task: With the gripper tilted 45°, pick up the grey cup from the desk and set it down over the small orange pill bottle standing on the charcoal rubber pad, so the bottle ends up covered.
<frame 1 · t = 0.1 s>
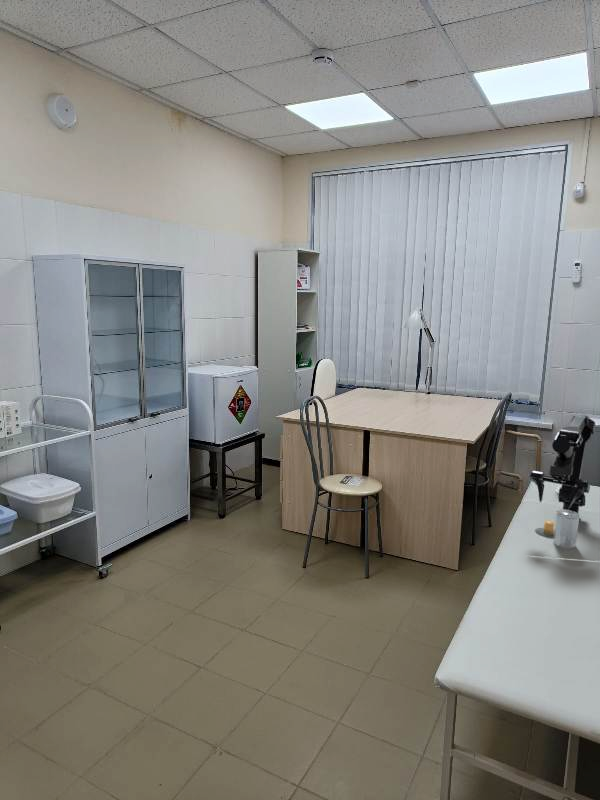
hand: (554, 504, 192), 15 cm above the table, tool tilted 35°, fingers open, 9 cm apart
grey cup: (564, 545, 194), on the table
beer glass: (562, 493, 247), on the table
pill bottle: (548, 532, 204), resting on rubber pad
rubber pad: (548, 534, 204), on the table
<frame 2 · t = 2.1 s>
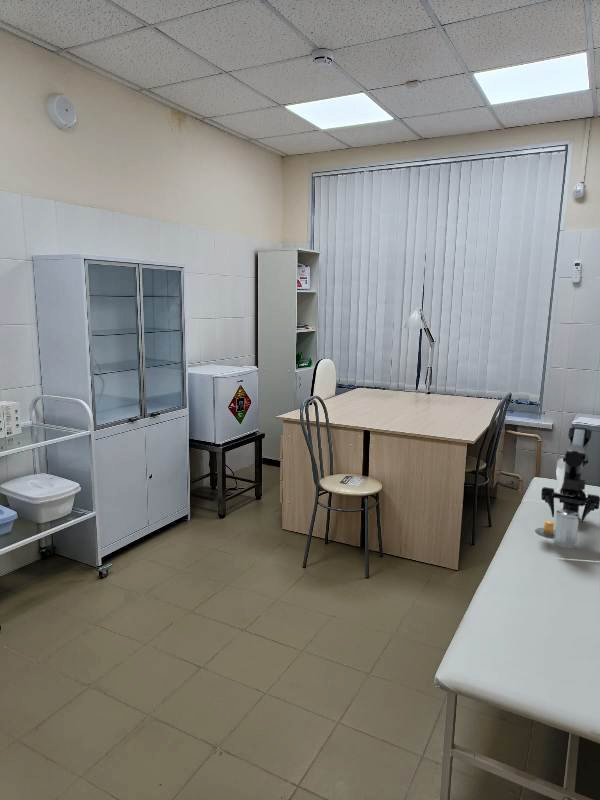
hand: (567, 519, 194), 9 cm above the table, tool tilted 45°, fingers open, 9 cm apart
nothing on the table moved.
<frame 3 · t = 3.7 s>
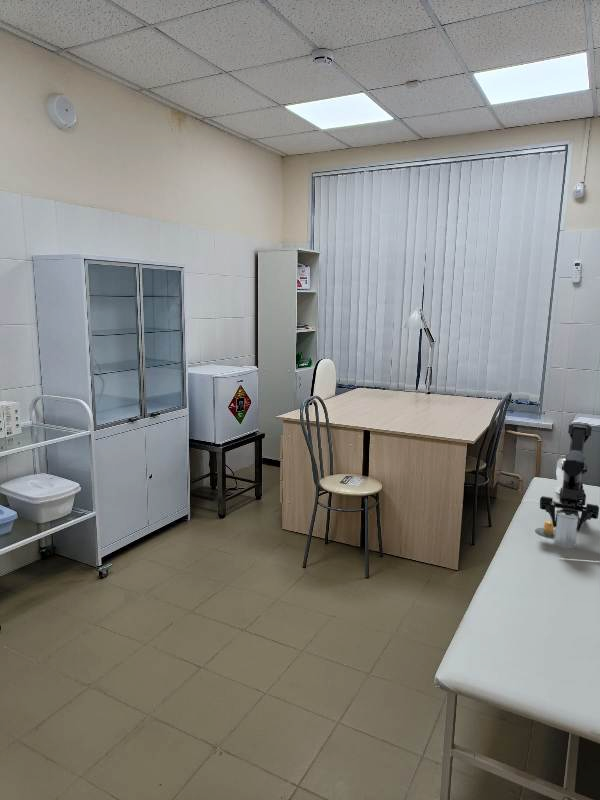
hand: (565, 529, 192), 7 cm above the table, tool tilted 45°, fingers closed on grey cup, 7 cm apart
grey cup: (564, 545, 194), on the table, touching gripper
everything else where it was.
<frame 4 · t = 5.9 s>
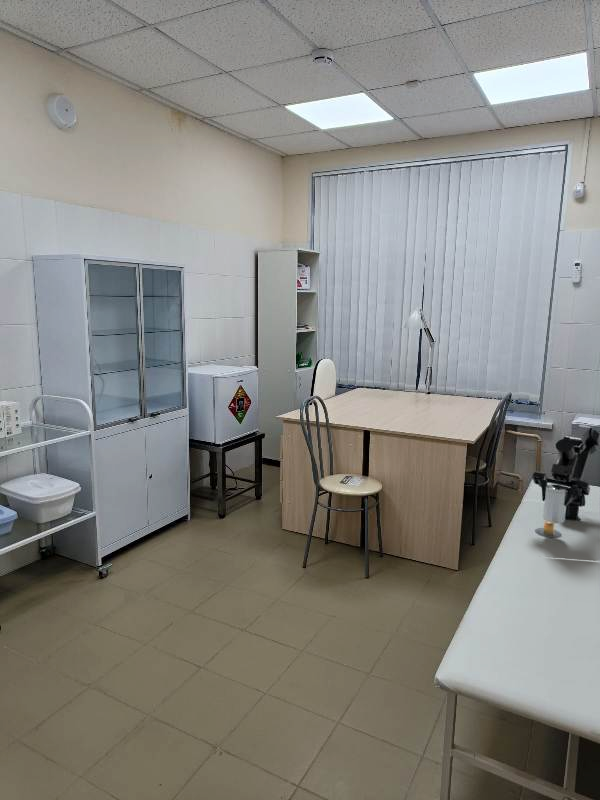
hand: (554, 503, 198), 13 cm above the table, tool tilted 45°, fingers closed on grey cup, 7 cm apart
grey cup: (553, 519, 200), point 7 cm above the table, touching gripper
everything else where it was.
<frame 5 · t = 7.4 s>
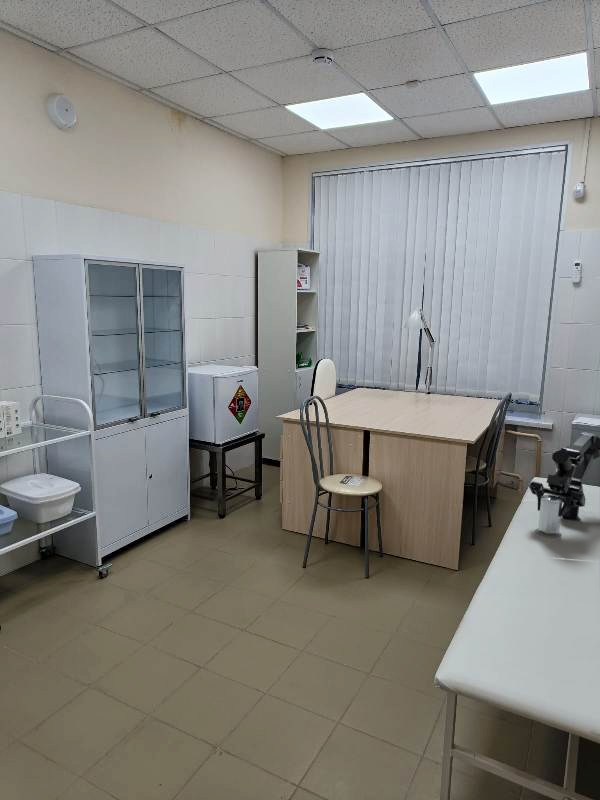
hand: (548, 513, 201), 8 cm above the table, tool tilted 45°, fingers closed on grey cup, 7 cm apart
grey cup: (548, 529, 203), point 2 cm above the table, touching gripper
everything else where it was.
when the fingers open (8 cm above the table, at t = 8.3 s): grey cup drops 1 cm, resting on rubber pad.
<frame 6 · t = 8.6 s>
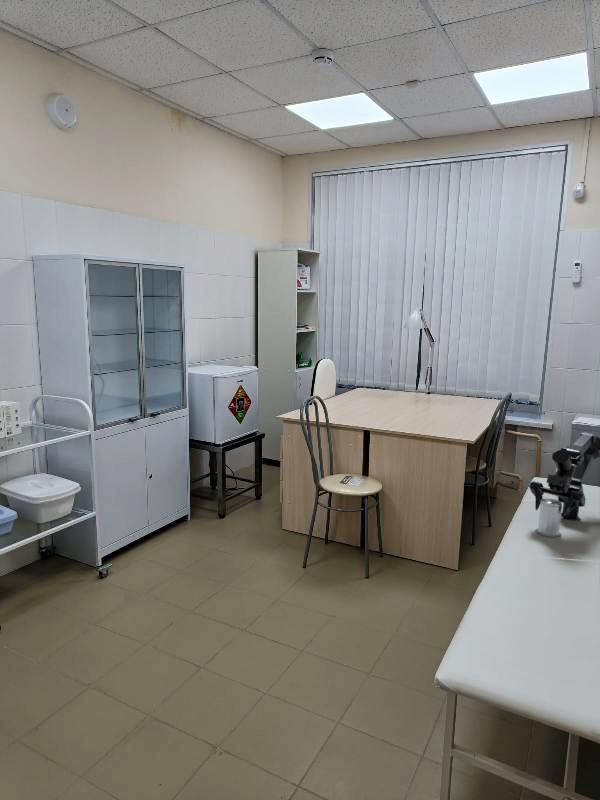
hand: (548, 513, 201), 9 cm above the table, tool tilted 45°, fingers open, 9 cm apart
grey cup: (548, 532, 204), point 1 cm above the table, touching rubber pad
everything else where it was.
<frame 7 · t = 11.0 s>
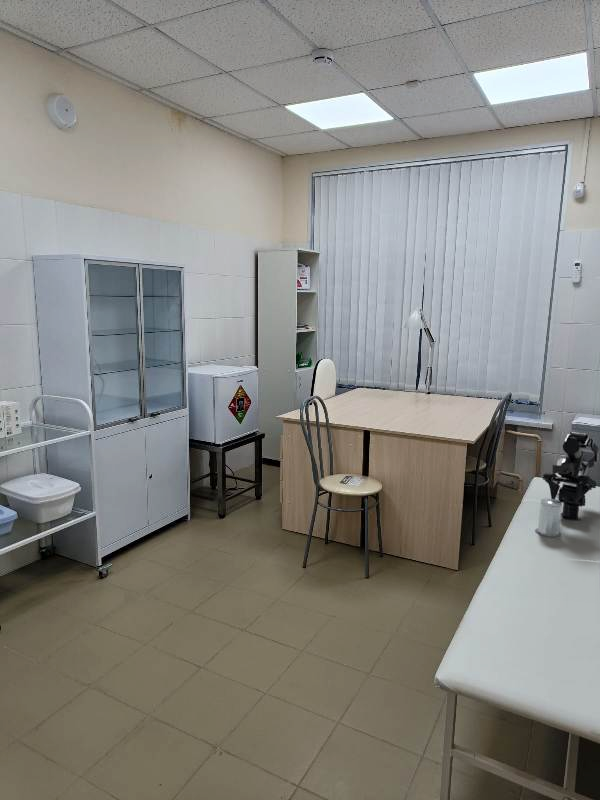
hand: (563, 501, 207), 11 cm above the table, tool tilted 35°, fingers open, 9 cm apart
nothing on the table moved.
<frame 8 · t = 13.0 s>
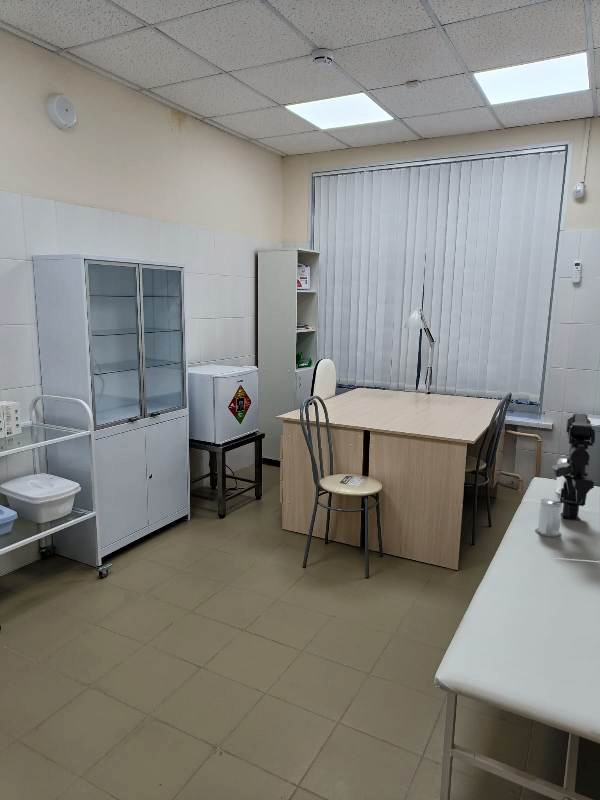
hand: (574, 498, 204), 13 cm above the table, tool pointing down, fingers open, 9 cm apart
nothing on the table moved.
at the end: grey cup 0.1 cm off-centre on the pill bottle, point 0.0 cm above the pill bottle's base; grey cup tilted 0°; the gripper is holding nothing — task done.
